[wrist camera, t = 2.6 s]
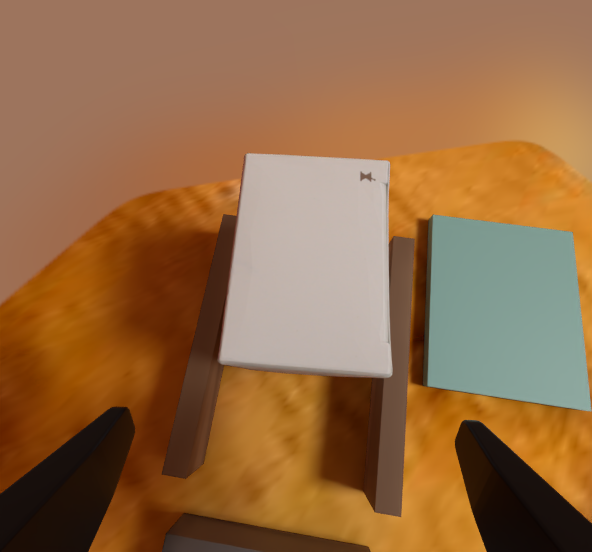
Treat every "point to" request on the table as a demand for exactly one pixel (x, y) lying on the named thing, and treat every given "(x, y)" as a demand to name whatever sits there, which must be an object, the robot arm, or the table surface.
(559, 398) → the pad
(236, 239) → the small box
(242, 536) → the tray
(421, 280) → the table surface
